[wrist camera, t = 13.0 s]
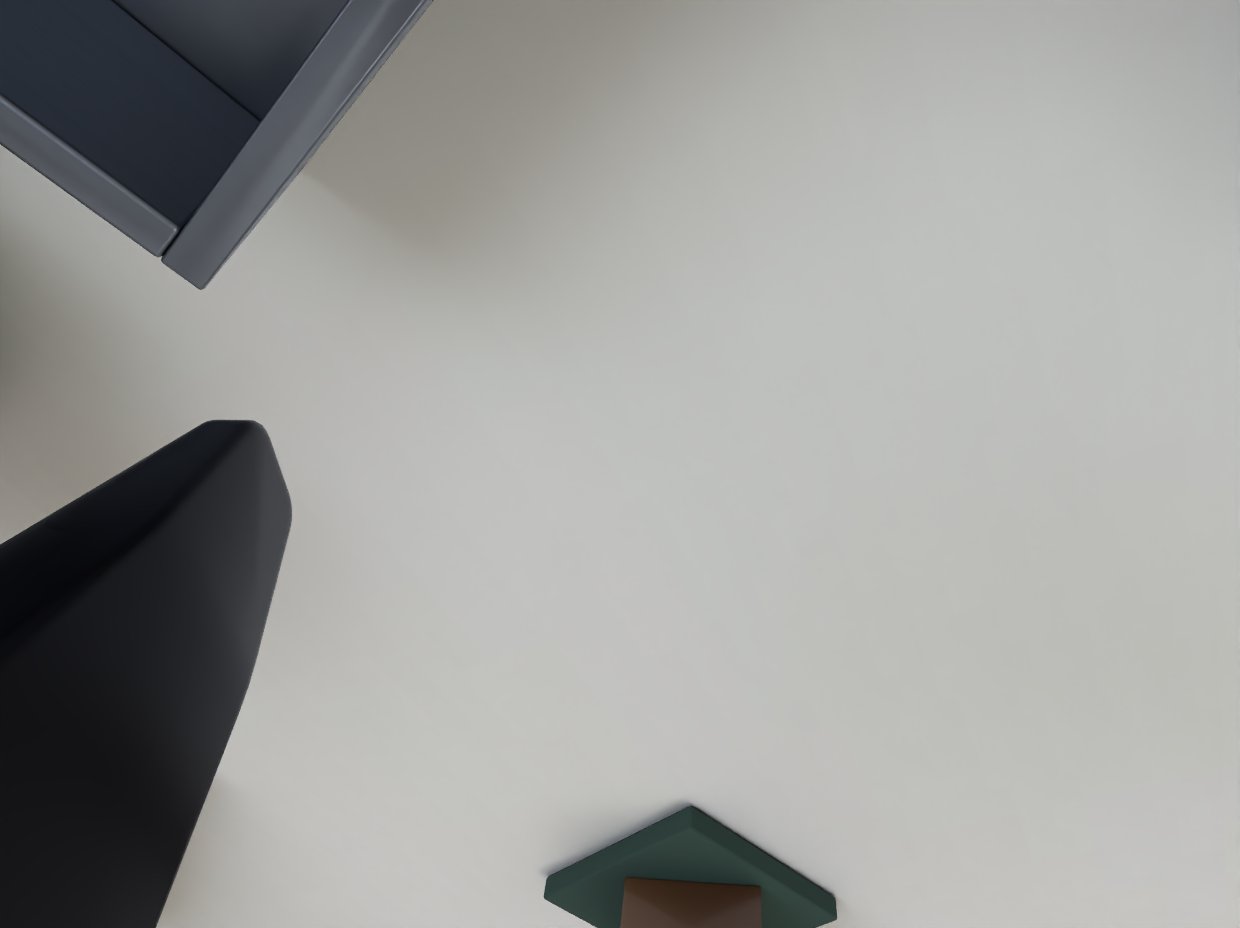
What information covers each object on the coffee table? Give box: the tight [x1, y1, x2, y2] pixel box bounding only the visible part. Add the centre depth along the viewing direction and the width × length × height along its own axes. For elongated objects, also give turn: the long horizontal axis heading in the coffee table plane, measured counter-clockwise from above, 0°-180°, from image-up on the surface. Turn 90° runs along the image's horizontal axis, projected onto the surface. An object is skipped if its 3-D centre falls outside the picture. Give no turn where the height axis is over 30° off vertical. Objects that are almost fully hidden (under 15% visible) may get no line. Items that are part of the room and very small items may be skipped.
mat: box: [544, 806, 837, 928], centre depth 35 cm, size 7×7×1 cm
